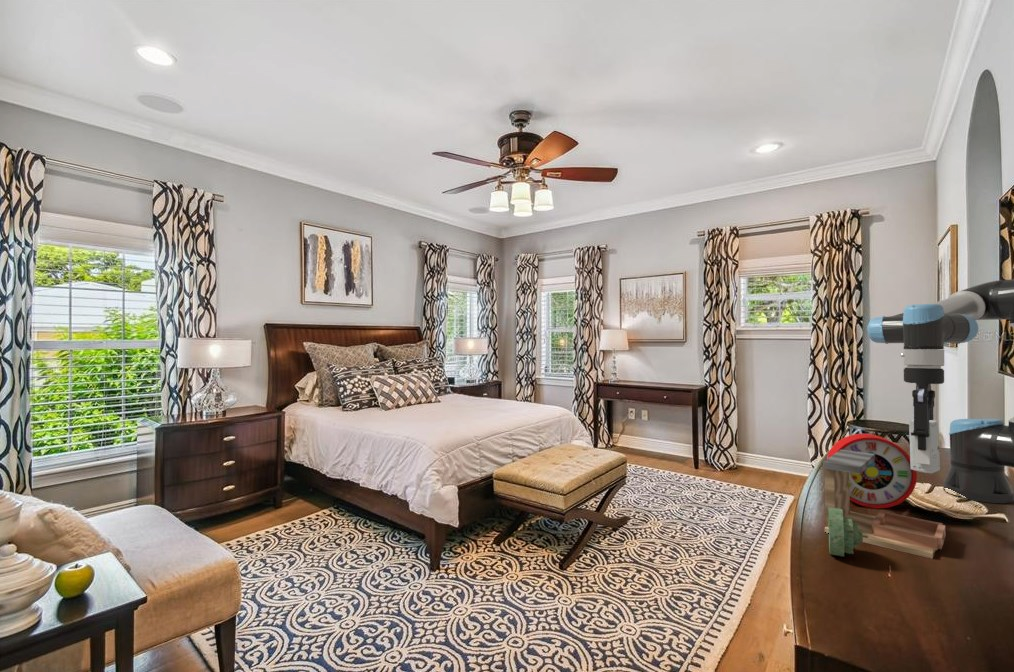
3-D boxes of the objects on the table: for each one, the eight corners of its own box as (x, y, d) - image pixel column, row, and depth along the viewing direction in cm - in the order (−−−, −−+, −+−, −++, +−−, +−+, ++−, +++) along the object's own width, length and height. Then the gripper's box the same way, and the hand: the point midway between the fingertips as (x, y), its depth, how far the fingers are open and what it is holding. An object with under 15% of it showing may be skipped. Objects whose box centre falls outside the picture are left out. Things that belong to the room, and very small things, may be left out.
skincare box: (932, 474, 113) (932, 423, 113) (908, 469, 116) (908, 420, 116) (940, 469, 116) (940, 420, 116) (917, 465, 120) (916, 418, 120)
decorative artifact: (828, 544, 111) (827, 501, 111) (866, 551, 107) (865, 506, 107) (830, 561, 103) (828, 515, 103) (870, 569, 99) (869, 521, 99)
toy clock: (831, 504, 138) (830, 435, 138) (826, 497, 143) (825, 431, 143) (918, 512, 130) (916, 439, 130) (909, 505, 136) (907, 435, 136)
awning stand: (841, 513, 130) (840, 449, 130) (947, 536, 114) (945, 463, 115) (824, 532, 118) (823, 461, 118) (939, 560, 102) (938, 478, 102)
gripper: (909, 365, 126) (910, 452, 126) (897, 367, 113) (898, 464, 112) (947, 366, 121) (948, 457, 120) (939, 369, 107) (941, 471, 107)
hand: (924, 460), depth 116 cm, fingers closed on skincare box, 6 cm apart
